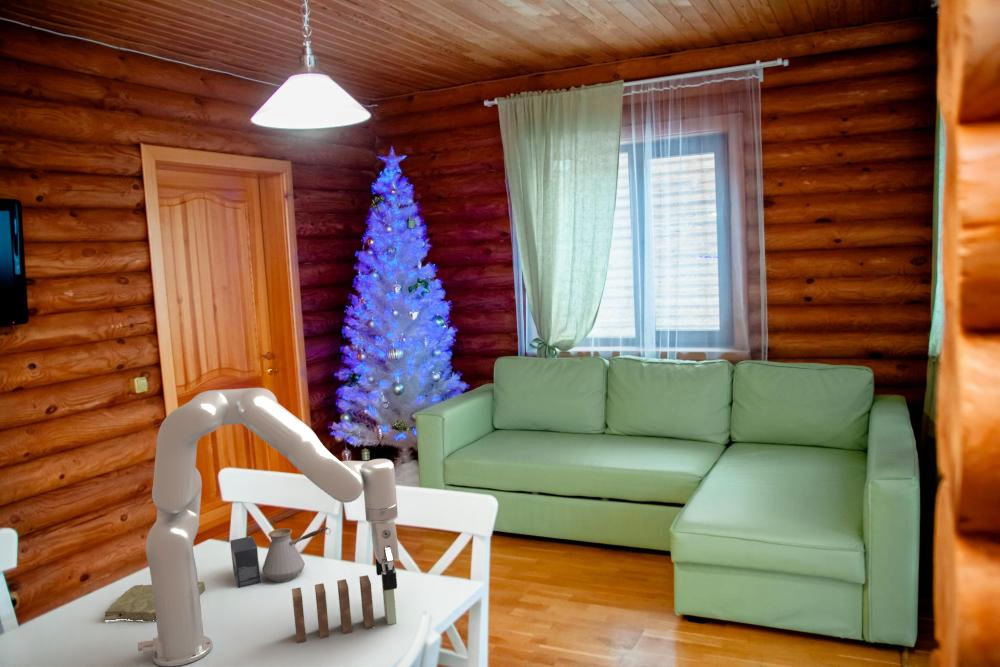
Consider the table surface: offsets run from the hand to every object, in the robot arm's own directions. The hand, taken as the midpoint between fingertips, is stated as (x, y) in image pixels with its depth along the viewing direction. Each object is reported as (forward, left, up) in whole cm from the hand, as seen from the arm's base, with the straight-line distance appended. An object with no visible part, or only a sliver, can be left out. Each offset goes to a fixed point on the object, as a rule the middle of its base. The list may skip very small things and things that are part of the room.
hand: (386, 581), depth 191 cm
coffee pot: (-19, +37, -10) cm, 43 cm away
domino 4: (-5, 0, -10) cm, 11 cm away
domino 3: (-10, 0, -10) cm, 14 cm away
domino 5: (0, 0, -10) cm, 10 cm away
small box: (-33, +43, -10) cm, 55 cm away
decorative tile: (-56, +35, -10) cm, 67 cm away
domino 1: (-21, 0, -10) cm, 23 cm away
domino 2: (-16, 0, -10) cm, 18 cm away
